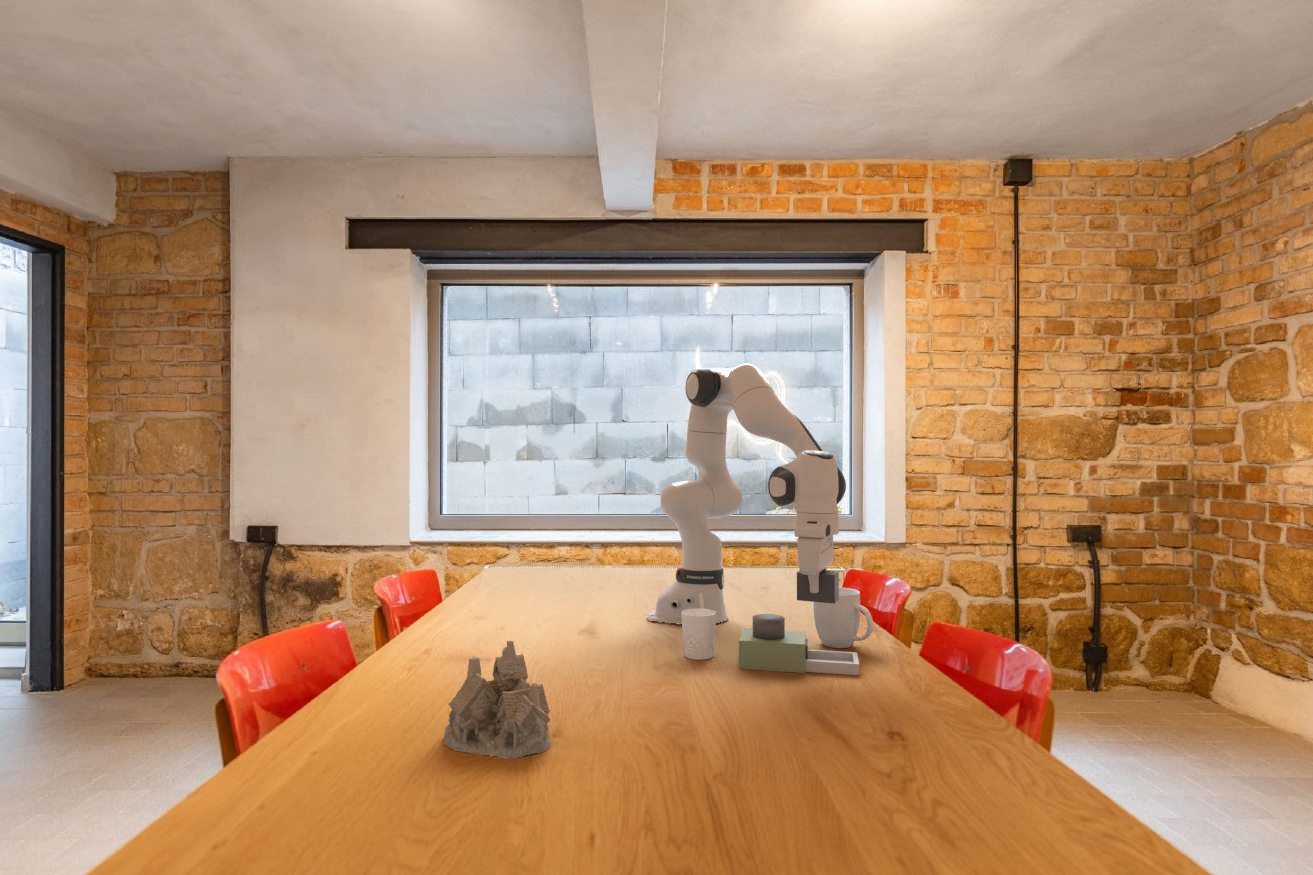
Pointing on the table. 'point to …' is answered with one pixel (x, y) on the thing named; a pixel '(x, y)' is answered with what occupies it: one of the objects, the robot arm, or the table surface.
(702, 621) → the white cup
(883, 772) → the table surface
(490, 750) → the ceramic cottage
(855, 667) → the green box with dome
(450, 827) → the table surface
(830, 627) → the mug
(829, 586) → the tall grey rectangular block
